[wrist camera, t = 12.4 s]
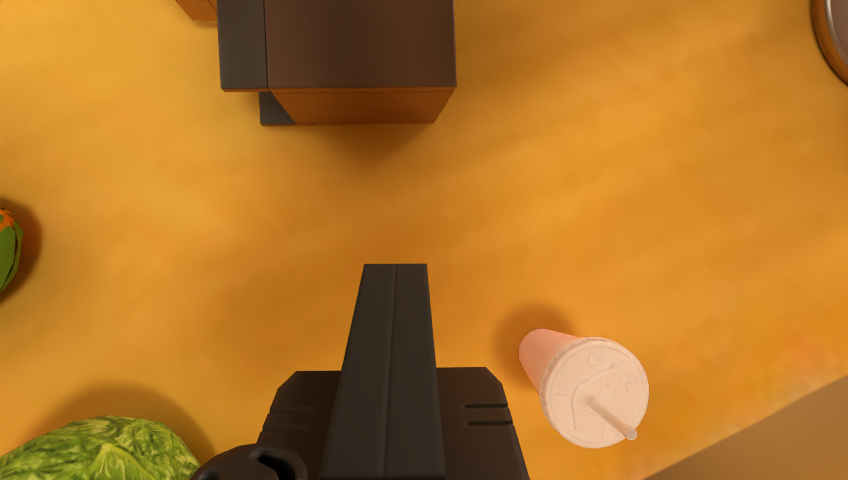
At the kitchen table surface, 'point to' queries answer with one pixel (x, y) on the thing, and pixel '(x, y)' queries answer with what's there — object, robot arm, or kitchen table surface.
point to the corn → (9, 247)
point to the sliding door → (199, 9)
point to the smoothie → (586, 386)
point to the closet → (339, 59)
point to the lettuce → (102, 453)
